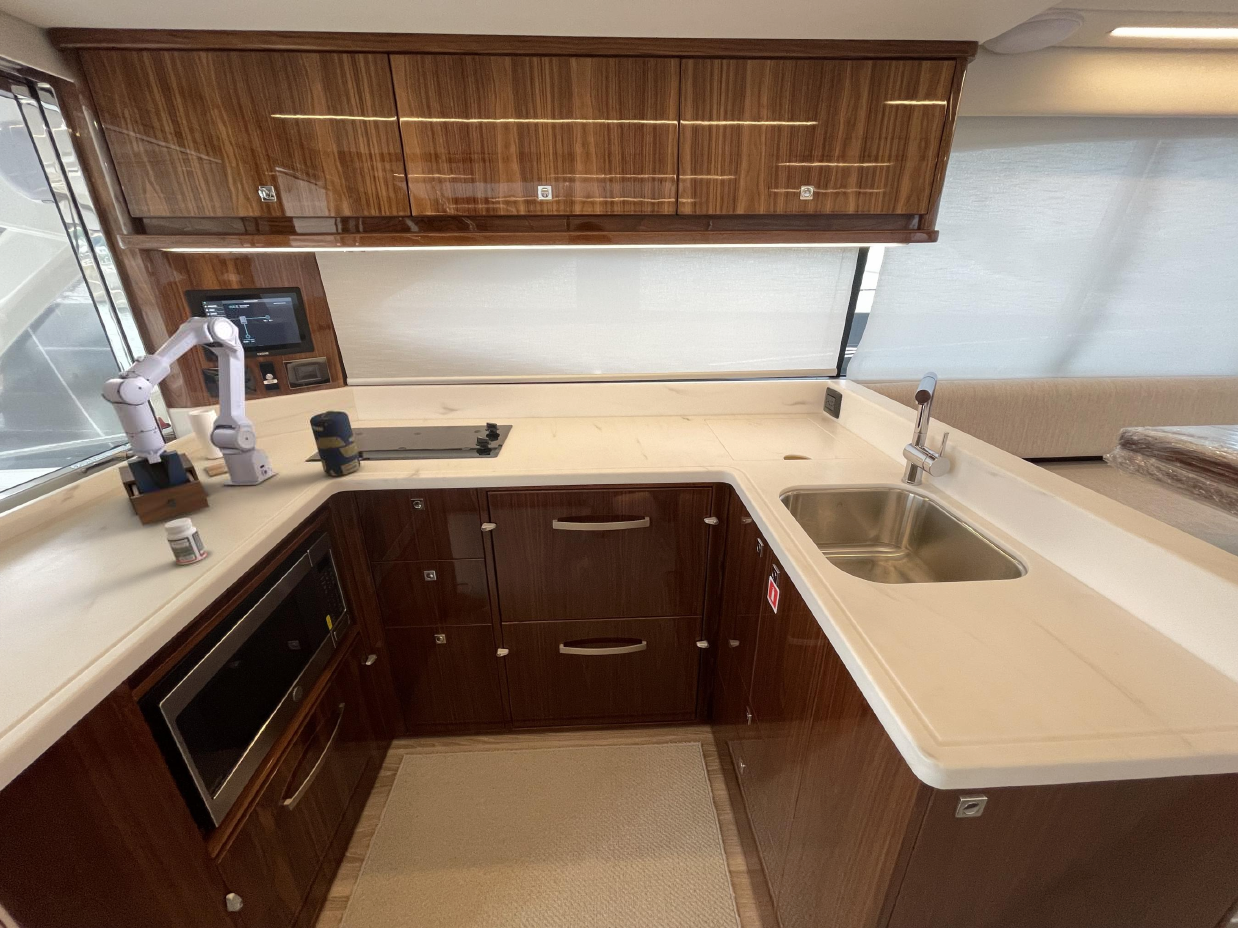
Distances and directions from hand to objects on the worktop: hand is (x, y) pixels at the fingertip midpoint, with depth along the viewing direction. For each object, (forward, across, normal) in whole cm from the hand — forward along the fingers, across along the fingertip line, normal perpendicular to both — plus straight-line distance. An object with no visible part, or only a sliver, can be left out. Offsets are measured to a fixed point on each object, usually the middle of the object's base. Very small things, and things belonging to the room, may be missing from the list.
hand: (163, 483), depth 121 cm
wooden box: (+7, -13, 0) cm, 15 cm away
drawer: (+6, 0, 0) cm, 6 cm away
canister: (+8, +6, +37) cm, 39 cm away
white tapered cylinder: (+8, -42, +15) cm, 45 cm away
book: (+1, 0, 0) cm, 1 cm away
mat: (+7, -26, +15) cm, 31 cm away
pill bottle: (+7, +33, -1) cm, 34 cm away
